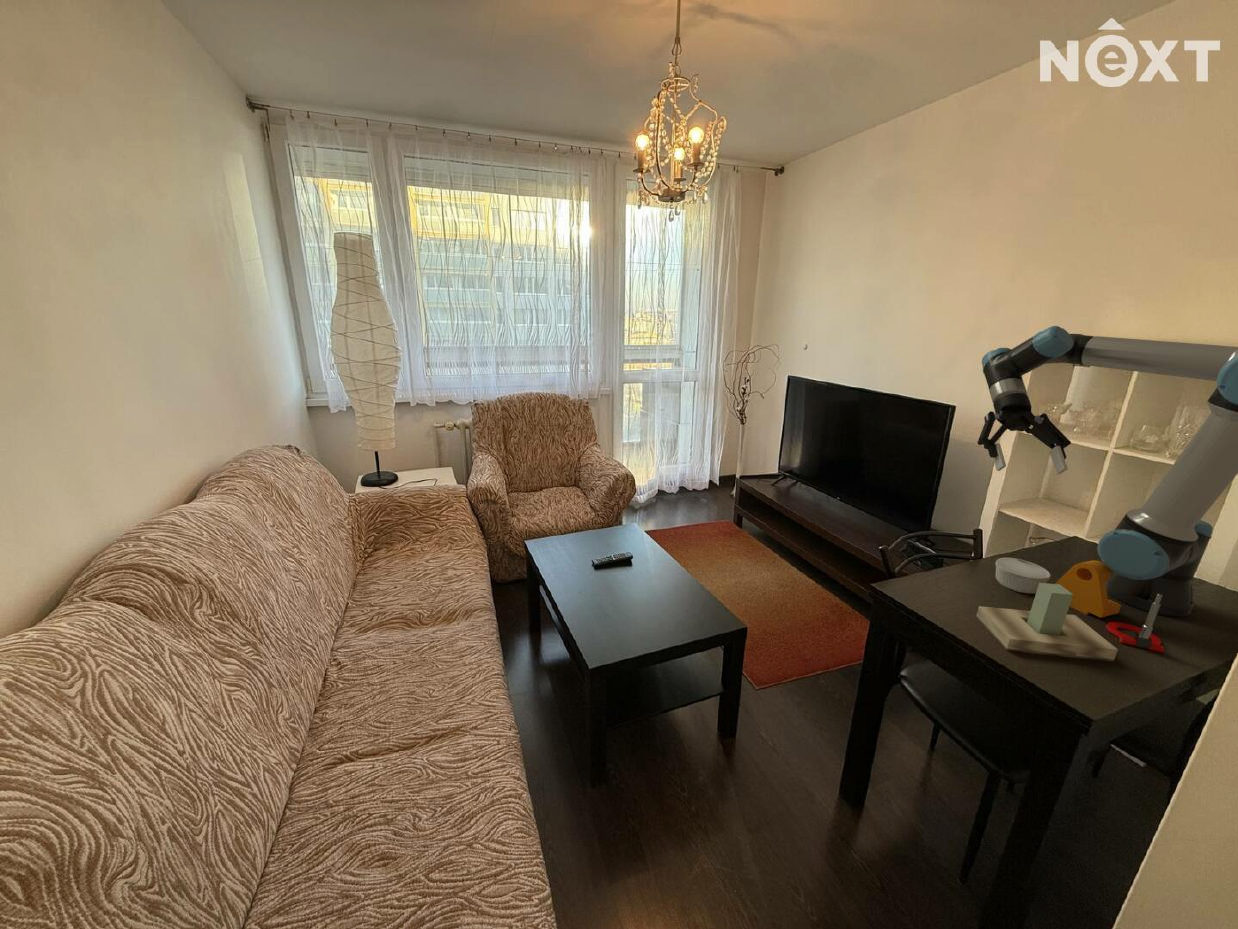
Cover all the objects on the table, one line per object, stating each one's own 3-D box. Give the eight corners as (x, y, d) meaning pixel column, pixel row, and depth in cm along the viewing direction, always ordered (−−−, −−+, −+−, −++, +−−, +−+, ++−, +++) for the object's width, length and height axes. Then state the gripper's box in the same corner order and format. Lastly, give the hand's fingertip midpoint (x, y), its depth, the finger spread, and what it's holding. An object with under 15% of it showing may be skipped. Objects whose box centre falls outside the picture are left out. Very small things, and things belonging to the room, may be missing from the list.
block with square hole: (1071, 626, 111) (1075, 615, 110) (1113, 661, 99) (1118, 649, 98) (975, 617, 114) (978, 606, 113) (1006, 650, 102) (1009, 638, 101)
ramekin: (1051, 588, 126) (1057, 570, 125) (1036, 601, 120) (1041, 583, 119) (1001, 570, 135) (1006, 553, 134) (984, 581, 129) (989, 564, 128)
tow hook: (1099, 622, 113) (1115, 642, 105) (1117, 572, 110) (1134, 590, 102) (1149, 633, 109) (1168, 656, 101) (1168, 582, 106) (1190, 601, 98)
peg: (1044, 631, 108) (1059, 584, 104) (1057, 642, 104) (1073, 594, 100) (1024, 629, 108) (1039, 582, 105) (1036, 640, 105) (1051, 592, 101)
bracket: (1119, 615, 115) (1135, 570, 111) (1099, 620, 113) (1115, 575, 109) (1067, 592, 125) (1081, 550, 121) (1048, 596, 122) (1061, 554, 119)
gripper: (1052, 409, 130) (1077, 479, 121) (952, 406, 134) (968, 473, 124) (1072, 393, 124) (1100, 465, 114) (966, 389, 127) (985, 460, 118)
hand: (1031, 470), depth 119 cm, fingers open, 13 cm apart
